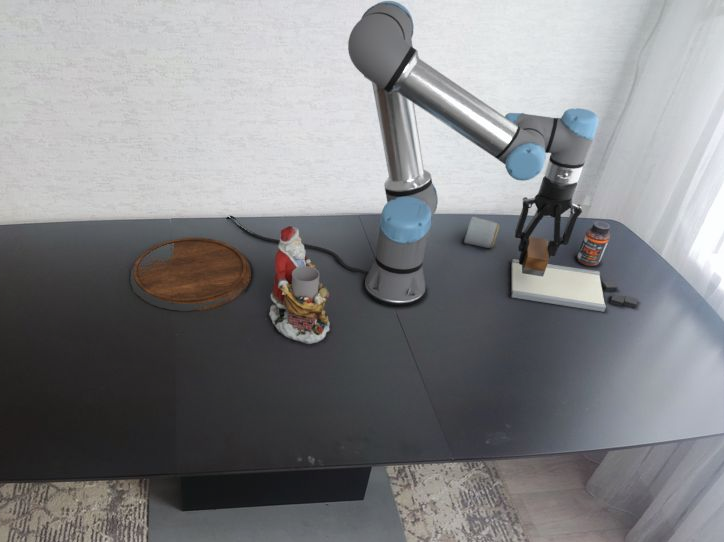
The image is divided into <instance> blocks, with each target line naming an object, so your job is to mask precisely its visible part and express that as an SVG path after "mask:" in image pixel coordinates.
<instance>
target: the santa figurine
mask: <svg viewBox="0 0 724 542" xmlns="http://www.w3.org/2000/svg"><path fill="white" fill-rule="evenodd" d="M280 235H281V236H280V237H279V240H280V242H279V243H278V246H277V247H278V249H277V252H276V254H275V259H274V267H275V268H274V269H275V275H274V281H273V282H274V283H273V290H272V292H271V293H270V299H271V302H273V304H272V305H271V306H270V309H269V313H268V315H269V317H270V320H271V322H272V325H273V326H274V327H275V329H276V330H277V331H278V332H279V333H280V334H281V335H282V336H283V337H285V338H288V339H290V340H292V341H296V342H299V343H303V344H305V345H312V344H313V345H314V344H316V343H319V342H321V341H322V340H324V338H325V337H326V336H327V333H328V332H329V331H330V324H331V322H330V321H329V317H328V315H325V314H326V310H325V308H326V301H327V299H328V298H329V296H330V291H329V290H328V287H327V286H324V287H323V283H322V282H320V272H319V270H318V269H316V265H315V264H313V263H312V261H311V259H309V258H308V256H307V255H306V249H305V247H304V245H303V244H304V243H302V238H301V237H300V230H299V228H298V227H294V226H290V225H289V226H287V227H285V228H282V229H281V230H280Z"/></svg>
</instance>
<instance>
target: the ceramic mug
mask: <svg viewBox="0 0 724 542" xmlns="http://www.w3.org/2000/svg"><path fill="white" fill-rule="evenodd" d="M499 230H500V224H499V223H497V222H495V221H492V220H488V219H484V218H480V217H477V216H473V215H472V216H471V217H470V220H469V222H468V226H467V229H466V232H465V236H464V239H463V244H466V245H471V246H475V247H481V248H486V249H491V248H493V247H494V245H495V243H496V238H497V236H498V232H499Z"/></svg>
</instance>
